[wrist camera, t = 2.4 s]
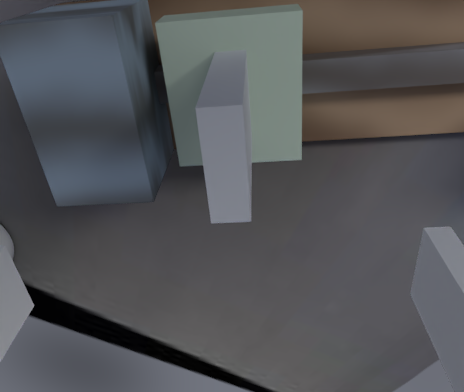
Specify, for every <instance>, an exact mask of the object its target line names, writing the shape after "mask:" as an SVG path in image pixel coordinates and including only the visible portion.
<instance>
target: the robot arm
mask: <svg viewBox="0 0 464 392" xmlns="http://www.w3.org/2000/svg"><path fill="white" fill-rule="evenodd" d="M410 295H411V297H412V299H413V302H414V304H415V306H416V308H417V310H418V313H419V315H420V317H421V319H422V321H423V324H424V326H425V328H426V330H427V332H428V335H429V337H430V339H431V341H432V344H433V346H434V348H435V350H436V352H437V355H438V357H439V359H440V361H441V363H442V366H443V368H444V370H445V372H446V374H447V377H448V379H449V381H450V383H451V385H452V388H453V389H454V392H464V245H463V244H462V242H461V241H460V240H459V238H458V237H457V235H456V234H455V233H454V231H453V230H452V228H451V227H430V228H424V229H423V234H422V239H421V244H420V249H419V253H418V258H417V263H416V268H415V273H414V278H413V283H412V288H411V293H410ZM33 307H34V304H33V302H32V300H31V298H30V296H29V294H28V292H27V289H26V287H25V285H24V283H23V281H22V279H21V277H20V275H19V273H18V271H17V269H16V267H15V265H14V263H13V260H12V258H11V256H10V254H9V252H8V250H7V248H6V246H0V362H1V360H2V359H3V357H4V355H5V354H6V352H7V350H8V349H9V347H10V345H11V344H12V342H13V340H14V339H15V337H16V335H17V334H18V332H19V330H20V329H21V327H22V325H23V324H24V322H25V320H26V319H27V317H28V315H29V314H30V312H31V310H32V309H33Z"/></svg>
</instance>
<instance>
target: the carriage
mask: <svg viewBox="0 0 464 392" xmlns="http://www.w3.org/2000/svg"><path fill="white" fill-rule="evenodd" d="M155 26H156V32H157V37H158V43H159V49H160V55H161V61H162V66H163V72H164V78H165V84H166V89H167V95H168V101H169V107H170V113H171V118H172V124H173V130H174V136H175V142H176V147H177V153H178V159H179V165H180V166H199V165H203V168H204V175H205V182H206V189H207V197H208V204H209V211H210V218H211V223H232V222H251V188H252V163H253V162H272V161H290V160H302V31H303V10H302V9H301V7H300V6H299V5H298V4H290V5H279V6H267V7H256V8H244V9H233V10H221V11H210V12H198V13H186V14H175V15H164V16H163V17H162V18H160V19H159V20H158V21H157V22H156V23H155Z"/></svg>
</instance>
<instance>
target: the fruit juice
mask: <svg viewBox="0 0 464 392" xmlns="http://www.w3.org/2000/svg"><path fill="white" fill-rule="evenodd" d="M0 246H6V248H7V250H8V252H9V254H10V256H11V258H12V260H13V257H14V244H13V241H12V239H11V237H10V235H9V234H8V232H7V231H6V230H5V228H4V227H3V226H2V225H1V224H0Z"/></svg>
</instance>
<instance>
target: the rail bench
mask: <svg viewBox="0 0 464 392" xmlns="http://www.w3.org/2000/svg"><path fill="white" fill-rule="evenodd" d="M290 4H298V5H299V6H300V7H301V9H302V10H303V31H302V142H303V141H320V140H337V139H354V138H371V137H388V136H405V135H422V134H440V133H457V132H464V0H90V1H79V2H68V3H60V4H57V5H54V6H51V7H48V8H45V9H42V10H38V11H35V12H32V13H29V14H26V15H23V16H20V17H17V18H13V19H10V20H7V21H4V22H1V23H0V56H1V59H2V61H3V64H4V67H5V69H6V72H7V75H8V77H9V80H10V83H11V85H12V88H13V91H14V93H15V96H16V99H17V101H18V104H19V107H20V109H21V112H22V115H23V117H24V120H25V123H26V125H27V128H28V131H29V133H30V136H31V139H32V141H33V144H34V147H35V149H36V152H37V155H38V157H39V160H40V163H41V165H42V168H43V171H44V173H45V176H46V179H47V181H48V184H49V186H50V189H51V192H52V194H53V197H54V200H55V202H56V205H57V207H60V206H81V205H102V204H123V203H144V202H154V200H155V197H156V195H157V192H158V189H159V187H160V184H161V182H162V179H163V176H164V174H165V171H166V169H167V166H168V163H169V161H170V158H171V156H172V153H173V150H174V149H177V147H176V142H175V136H174V130H173V124H172V118H171V113H170V107H169V101H168V95H167V89H166V84H165V78H164V72H163V66H162V61H161V55H160V49H159V43H158V37H157V32H156V26H155V23H156V22H157V21H158V20H159V19H160V18H162V17H163V16H164V15H175V14H186V13H198V12H210V11H221V10H233V9H244V8H256V7H267V6H279V5H290Z"/></svg>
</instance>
